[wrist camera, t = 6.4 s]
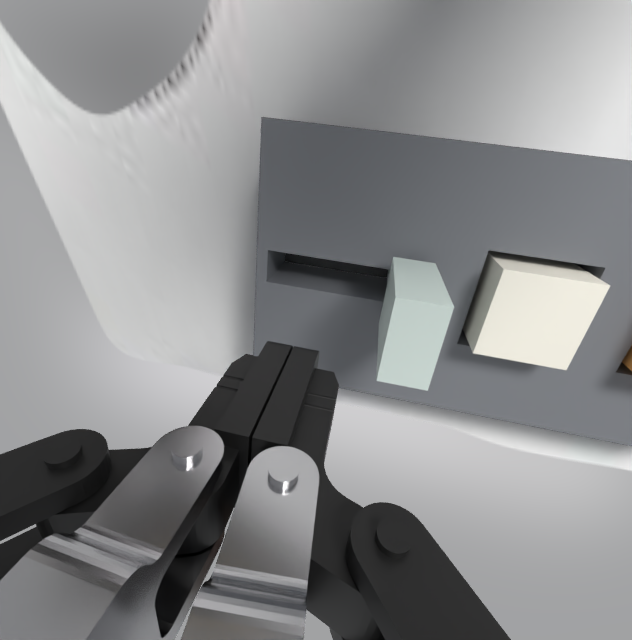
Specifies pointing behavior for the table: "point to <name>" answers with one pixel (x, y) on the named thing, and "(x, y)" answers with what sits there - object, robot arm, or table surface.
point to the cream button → (532, 309)
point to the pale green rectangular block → (412, 323)
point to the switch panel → (443, 261)
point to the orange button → (628, 359)
